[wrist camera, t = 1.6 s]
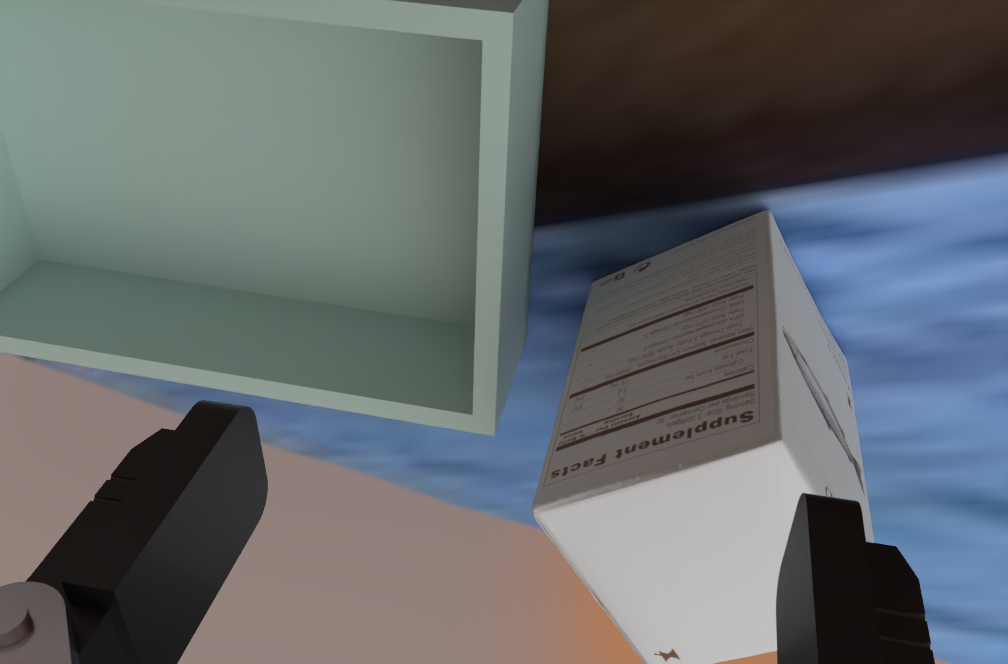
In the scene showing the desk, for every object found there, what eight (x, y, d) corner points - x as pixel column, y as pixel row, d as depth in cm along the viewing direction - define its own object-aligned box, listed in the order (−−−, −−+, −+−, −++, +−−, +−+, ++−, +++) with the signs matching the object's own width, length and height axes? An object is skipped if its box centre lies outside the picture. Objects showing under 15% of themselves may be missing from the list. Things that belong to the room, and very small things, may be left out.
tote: (-67, -101, 32) (-211, -62, 27) (551, -43, 29) (513, 13, 24) (38, 263, 41) (-57, 342, 36) (526, 338, 37) (494, 436, 33)
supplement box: (852, 360, 35) (897, 638, 25) (671, 417, 38) (645, 684, 28) (773, 198, 32) (788, 439, 22) (584, 276, 35) (521, 516, 25)
